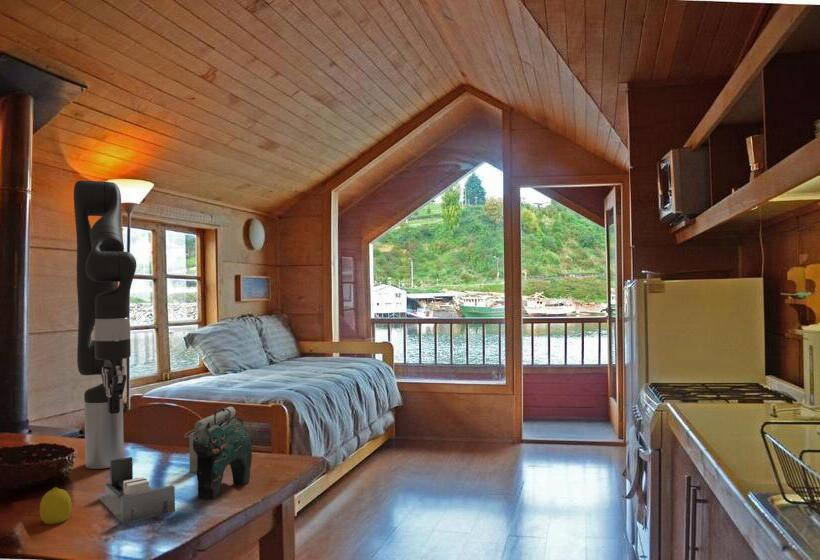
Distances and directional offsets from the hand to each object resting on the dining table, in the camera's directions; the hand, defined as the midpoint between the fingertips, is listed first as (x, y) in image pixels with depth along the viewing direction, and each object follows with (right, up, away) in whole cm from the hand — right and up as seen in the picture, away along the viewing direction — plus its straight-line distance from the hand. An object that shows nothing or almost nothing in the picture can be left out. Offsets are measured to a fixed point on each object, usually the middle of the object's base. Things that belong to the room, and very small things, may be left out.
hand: (114, 413), depth 146 cm
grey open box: (+10, -18, -12) cm, 24 cm away
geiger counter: (+17, -18, +22) cm, 33 cm away
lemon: (-2, -19, -21) cm, 28 cm away
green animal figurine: (+26, -18, -2) cm, 32 cm away
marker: (+11, -17, -13) cm, 24 cm away
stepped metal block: (+6, -16, -7) cm, 19 cm away
